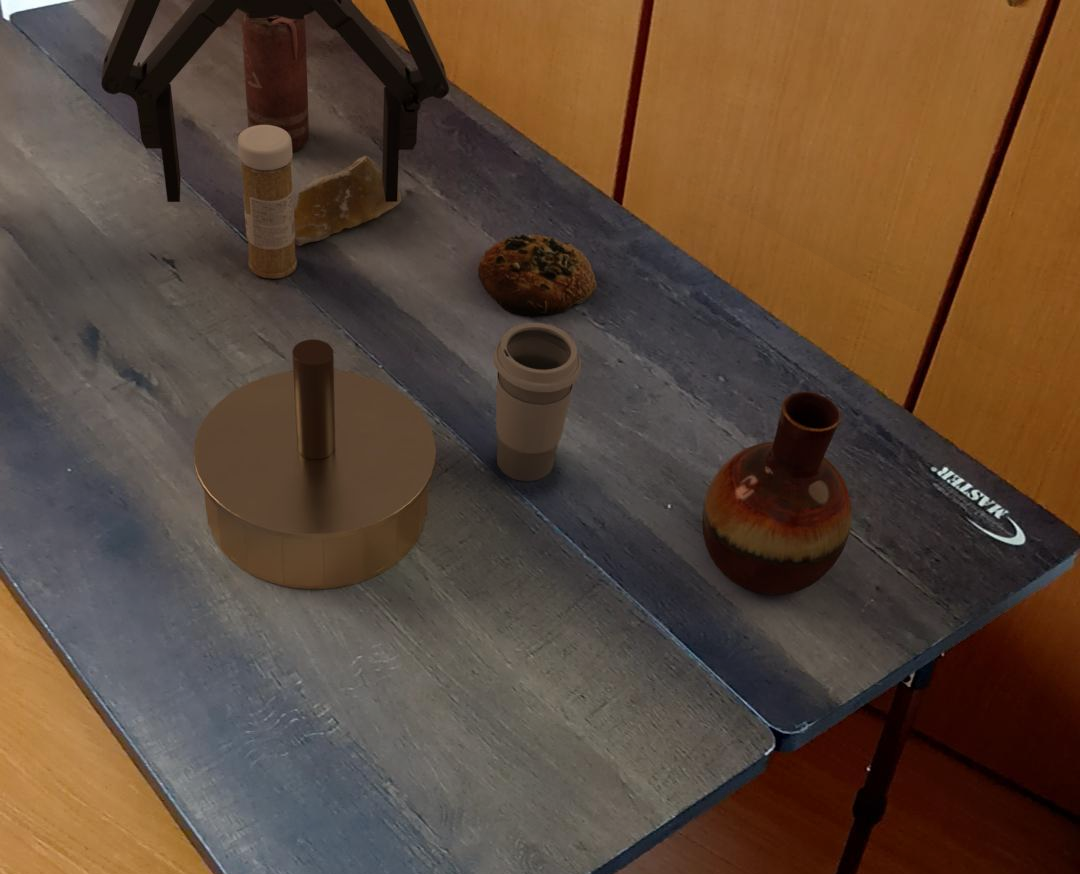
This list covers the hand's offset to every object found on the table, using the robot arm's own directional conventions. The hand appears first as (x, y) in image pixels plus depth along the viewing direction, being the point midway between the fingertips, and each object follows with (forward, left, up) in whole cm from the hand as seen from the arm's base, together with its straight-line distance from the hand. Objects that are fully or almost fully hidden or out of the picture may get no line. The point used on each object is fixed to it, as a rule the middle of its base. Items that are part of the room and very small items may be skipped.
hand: (283, 190), depth 85 cm
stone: (+4, +38, -22) cm, 44 cm away
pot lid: (+1, -3, -21) cm, 21 cm away
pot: (+1, -3, -27) cm, 27 cm away
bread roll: (+23, +25, -27) cm, 43 cm away
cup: (+18, +1, -27) cm, 32 cm away
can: (+1, +50, -27) cm, 57 cm away
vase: (+35, -11, -27) cm, 46 cm away
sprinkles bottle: (-1, +28, -27) cm, 39 cm away
